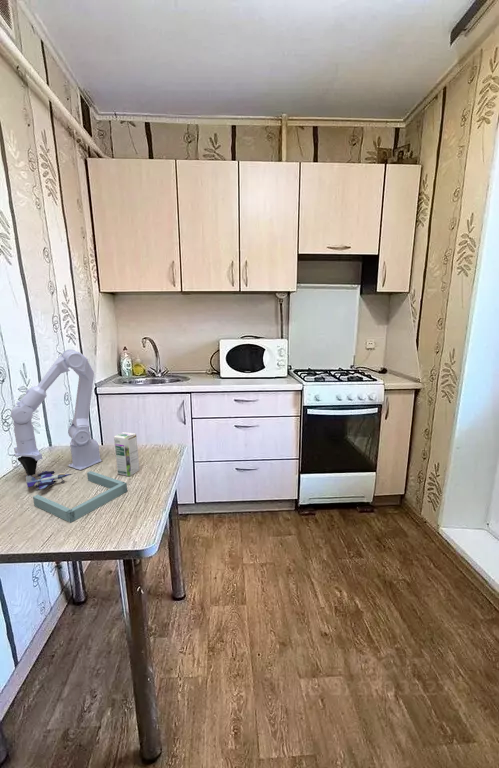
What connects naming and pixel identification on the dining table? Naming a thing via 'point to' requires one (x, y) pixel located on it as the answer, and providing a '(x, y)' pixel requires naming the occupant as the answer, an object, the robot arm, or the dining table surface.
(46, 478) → the toy airplane
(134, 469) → the syrup box
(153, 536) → the dining table surface
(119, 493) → the bay
